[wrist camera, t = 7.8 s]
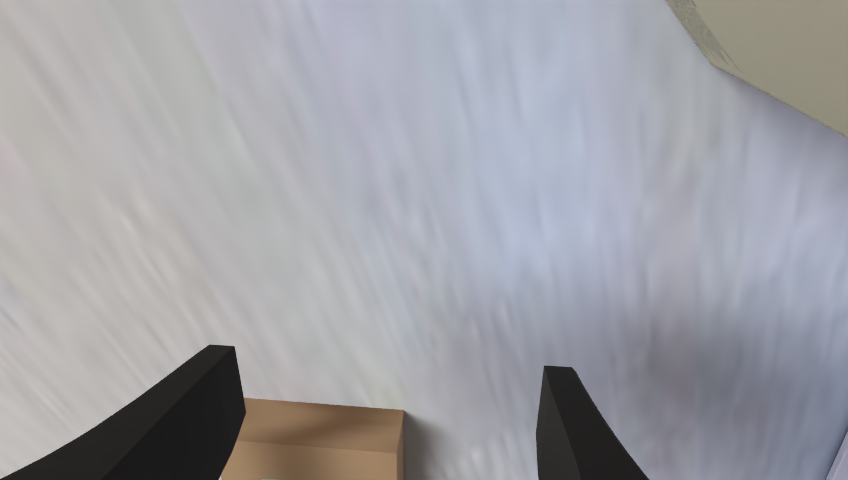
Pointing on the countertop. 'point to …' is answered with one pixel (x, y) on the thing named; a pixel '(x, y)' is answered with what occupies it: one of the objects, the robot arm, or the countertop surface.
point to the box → (779, 49)
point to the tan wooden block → (317, 442)
